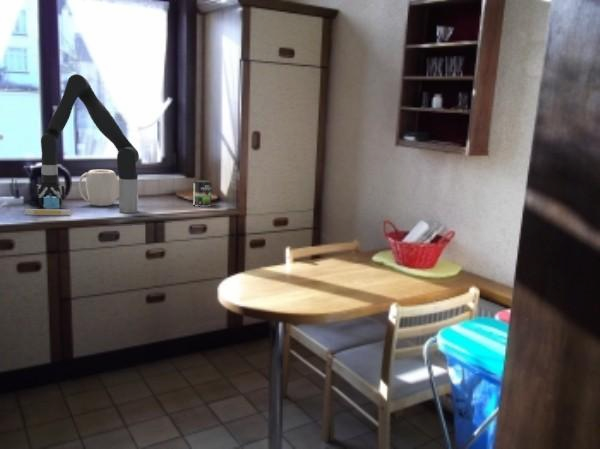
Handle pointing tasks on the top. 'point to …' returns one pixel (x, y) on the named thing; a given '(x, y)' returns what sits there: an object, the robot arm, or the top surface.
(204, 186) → the coffee can
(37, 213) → the price rail
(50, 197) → the teapot
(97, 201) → the white mug
